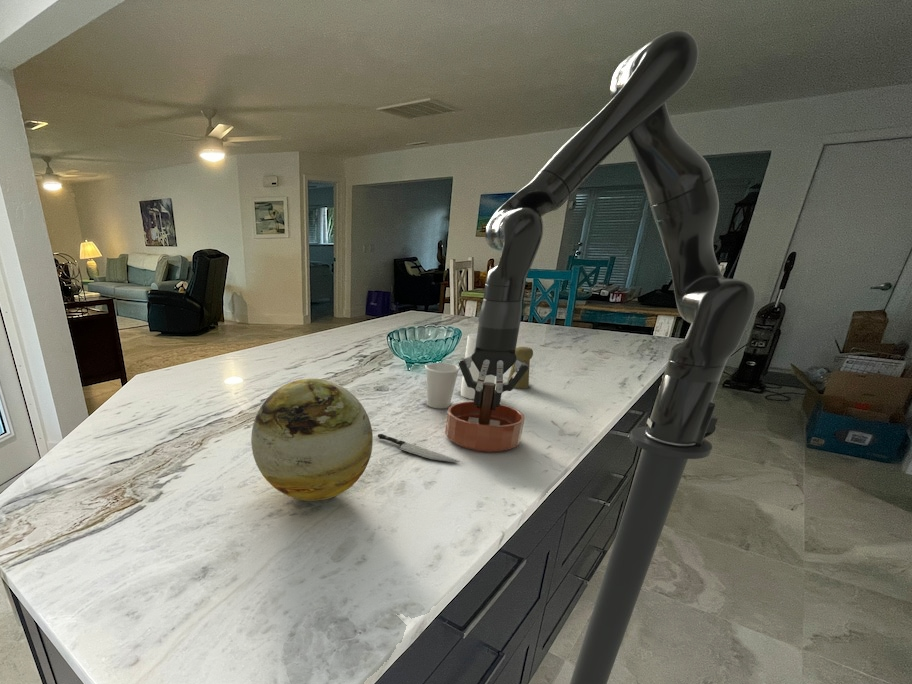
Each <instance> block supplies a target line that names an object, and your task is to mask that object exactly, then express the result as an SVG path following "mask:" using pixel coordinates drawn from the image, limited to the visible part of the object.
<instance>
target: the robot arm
mask: <svg viewBox="0 0 912 684" xmlns="http://www.w3.org/2000/svg"><path fill="white" fill-rule="evenodd" d="M698 45H699V44H698V43H697V41H696V38H695V37H694V36H693V34H691V33H690V32H688V31H686V30H681V29H680V30H679V29H678V30H677V29H676V30H671V31H667V32H665V33H662V34H661V35H659V36H656V37H655V38H653V39H652V40H649V42H647V43H646V44H645V45H643V46H641V47H640V48H639V49H637V50H636V51H634V52H633V53H632V54H630V55H629V56H627V57H626V58H624V59H623V60H622V61H621V62H620V63H619V64H618V66H616V68H615V69H614V71H613V74H612V76H611V79H610V83H609V96H610V101H609V102H608V103H607V104H606V105H605V106H604V107H603V108H602V109H601V110H600V111H599V112H598V113H597V114H596V115H594V117H592V119H591V120H590V121H588V122H587V123H586V124H585V125H584V126H583V127H581V128H580V129H579V131H577V132H576V133H575V134H574V135H572V136H571V137H570V138H569V139H568V140H567V141H566V142H564V144H563V145H562V146H560V148H559V149H558V150H557V151H556V152H555V153H554V154H553V155H552V157H550V158H549V159H548V161H547V162H546V163H545V164H544V165H543V166H542V168H541V169H539V171H538V172H537V173H536V174H535V176H534V177H533V178H531V180H530V181H529V182H528V183H527V184H526V185H525V186H523V187H522V188H521V189H520V190H518V191H517V192H516V193H515V194H514V195H512V196H511V197H510V198H509V199H508V200H507V201H505V202H504V203H502V205H501V206H500V207H498V208H497V210H496V211H494V213H493V214H492V215H491V217H490V219H489V221H488V222H487V224H486V228H485V232H484V233H485V234H484V236H485V237H484V238H485V241H486V243H487V245H488V246H489V247H490V248H492V249H493V250H496V251H500V252H501V254H500V256H499V260H498V263H497V265H495V266H492V267H490V268H489V270H488V271H487V273H486V277H485V284H484V289H483V291H484V292H483V296H482V297H483V299H482V303H481V307H480V310H479V315H478V325H477V332H476V333H477V338H476V346H475V350H474V352H473V353H472V356H470V357H467V358H465V357H461V358H460V359H459V361H458V367H459V368H460V371H461V373H462V378H463V377H464V379H465V382H466V384H467V386H468V387H469V388H473V389H474V390H475V396H474V399H473V401H474V405H477V407H476V408H480V404H481V398H482V387H483V383H484V380H485V377H486V375H493V376H495V384H496V386H495V392H494V398H493V404H492V410H495V409H496V407H499V406H500V404H501V399H502V394H503V393H504V392H511V391H513V389H515V388H514V386H515V385H516V384H517V383H518V381H519V380H520V379H521V377H522V376H523V375H524V374H525V372H526V371H527V370H528V365H527V363H526V362H521V361H519V360H518V359H517V356H516V354H515V350H516V348H517V343H518V337H519V332H520V325H521V321H522V314H523V302H524V301H523V299H524V295H525V290H526V289H525V288H526V283H527V276H528V275H529V272H530V270H531V268H532V266H533V263H534V261H535V258H536V256H537V253H538V250H539V249H540V246H541V243H542V239H543V235H544V221H543V216H545V215H547V214H551V213H553V212H555V211H558V209H560V208H561V207H562V206H563V205H564V204H565V203H566V202H567V201H568V200H569V199H570V198H571V196H572V195H574V193H575V192H577V190H578V189H579V188H580V187H581V186H582V184H583V183H584V182H585V181H586V180H587V179H588V178H589V177H590V176H591V174H592V173H593V172H594V171H595V170H596V169H597V168H598V167H599V166H600V165H601V164H602V163H603V161H604V160H606V158H608V156H609V155H610V154H611V153H612V152H614V150H616V148H617V147H618V146H619V145H620V144H621V143H622V142H623V141H624V140H626V139H627V142H628V143H629V146H630V148H631V151H632V153H633V156H634V159H635V162H636V165H637V168H638V172H639V174H640V178H641V180H642V183H643V186H644V190H645V192H646V196H647V201H648V204H649V207H650V210H651V214H652V218H653V221H654V223H655V226H656V228H657V232H658V235H659V238H660V241H661V245H662V247H663V250H664V253H665V256H666V259H667V263H668V265H669V268H670V273H671V279H672V285H673V290H674V298H675V303H676V308H677V311H678V313H679V315H680V317H681V318H682V319H683V320H684V321H686V322H687V323H689V324H692V325H691V328H690V330H689V333H688V335H687V337H686V339H685V340H683V342H679V343H676V344H674V345H673V347H672V348H671V350H670V353H669V357H668V360H667V362H666V366H665V369H664V372H663V376H662V379H661V382H660V385H659V389H658V392H657V396H656V398H655V401H654V405H653V408H652V411H651V414H650V417H647V420H646V424H647V426H646V427H647V429H646V431H645V436H646V437H647V438H648V439H650V440H652V441H654V442H657V443H660V444H664V445H668V446H673V447H694V446H696V447H701V444H702V441H703V439H706V438H708V437H709V436H711V435H712V434H714V433H715V431H716V429H717V428H716V427H717V426H716V425H717V422H718V417H717V416H715V415H714V411H715V408H716V406H717V404H716V402H714V401H713V400H714V398H715V395H716V393H717V389H718V387H719V384H720V381H721V378H722V375H723V373H724V370H725V367H726V365H727V362H728V360H729V358H730V357H731V356H732V355H733V354H734V353H735V351H736V350H737V349H738V347H739V345H740V343H741V341H742V339H743V336H744V334H745V331H746V329H747V326H748V325H749V323H750V320H751V318H752V315H753V312H754V309H755V305H756V301H757V300H756V299H757V297H756V296H757V295H756V290H755V288H754V287H753V286H752V285H751V284H750V283H749V282H747V281H745V280H741V279H735V278H729V277H724V275H723V273H722V271H721V269H720V266H719V263H718V260H717V257H716V254H715V249H714V248H715V247H714V237H715V232H716V228H717V223H718V219H719V212H720V201H719V194H718V193H719V192H718V190H717V184H716V182H715V178H714V175H713V174H714V173H713V172H712V169H711V167H710V164H709V162H708V161H707V159H705V157H704V156H703V155H702V154H701V153H700V152H699V151H698V150H697V149H696V148H695V147H693V146H692V144H690V143H689V142H688V141H687V140H686V139H685V138H683V136H682V135H681V134H680V133H679V132H678V131H677V129H676V127H675V125H674V124H673V122H672V119H671V116H670V113H669V110H668V105H667V102H668V101H669V100H670V99H672V98H673V97H674V96H675V95H677V94H678V93H679V92H680V91H681V90H683V89H684V88H685V86H686V85H687V84H688V83H689V81H690V80H691V78H692V77H693V75H694V73H695V71H696V69H697V66H698V62H699V56H700V55H699V46H698ZM472 361H473V362H474V364H475V366H476V367H477V369H478V371H479V376H478V380H477V382H476V381H474V380H473V378H472V376H471V373H470V370H469V368H470V367H471V362H472ZM513 364H515V367H514V370H515V373H514V374H513V375H512V377H511V378H510V379H509V381H508V382H507V381H506V382H505V383H504V374H505V373H506V372H507V371H508V370H510V369H511V367H512V365H513Z"/></svg>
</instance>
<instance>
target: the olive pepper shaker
mask: <svg viewBox="0 0 912 684" xmlns="http://www.w3.org/2000/svg"><path fill="white" fill-rule="evenodd" d="M515 354H516V356H517V359H518V360H519V361H521V362H526V363H527V365H528V370H527V371H526V372H525V374H524V375H523V376H522V377H521V379H520V380H519V381H518V383H517V384H516V385H515V386H514V388H513V389H528V388H529V384H530V366H531V365H530V364H531V362H530V360H531V359H532V358H533V356H534V350H533V349H532V348H531V347H528V346H516V350H515ZM514 367H515V364H513V365H512V366H511V367H510V371H509V375H508V377H507V380H506V383H507V382H508V381H509V379H510V378H511V377H512V375H513V374H514V373H515V370H514Z"/></svg>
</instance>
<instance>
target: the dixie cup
mask: <svg viewBox="0 0 912 684" xmlns="http://www.w3.org/2000/svg"><path fill="white" fill-rule="evenodd" d="M424 368H425V378H426V380H425V381H426V405H427V406H428V407H430V408H434V409H448V408H449V407H450V406H451V402H452V398H453V395H454V394H453V393H454V390H455V386H456V382H457V379H458V374H459V371H461V369H460V366H459V365H456V364H453V363H448V362H447V363H446V362H433V363H428V364H426V365H425V366H424Z"/></svg>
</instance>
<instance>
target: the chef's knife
mask: <svg viewBox="0 0 912 684" xmlns="http://www.w3.org/2000/svg"><path fill="white" fill-rule="evenodd" d="M377 437H378V439H380V440H385V441H389V442H391V443H394V444H396V445H399V446H400V447H399V450H401V451H404V452H408V453H410V454H413V455H416V456H420V457H422V458H426V459H429V460H435V461H442V462H448V463H452V462H453V463H455V462H461V461H460V460H457V459H455V458H453V457H449V456H447V455H444V454H441V453H438V452H435V451H433V450H430V449H426V448H424V447H420V446H417V445H416V444H412V443H408V442H407V441H404V440H401V439H397V438H394V437H391V436H389V435H386V434H383V433H378V434H377Z"/></svg>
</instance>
